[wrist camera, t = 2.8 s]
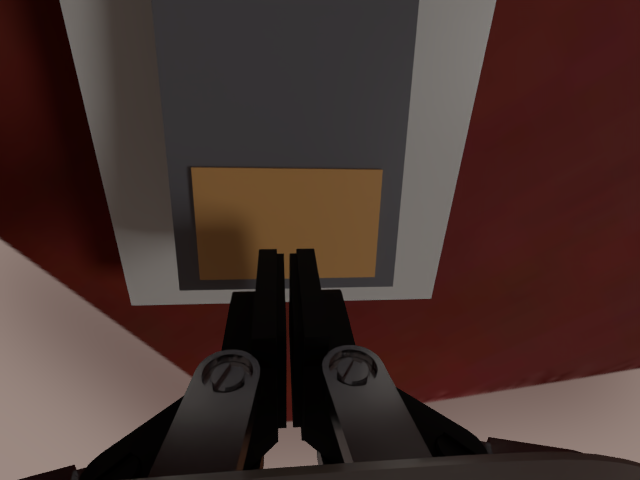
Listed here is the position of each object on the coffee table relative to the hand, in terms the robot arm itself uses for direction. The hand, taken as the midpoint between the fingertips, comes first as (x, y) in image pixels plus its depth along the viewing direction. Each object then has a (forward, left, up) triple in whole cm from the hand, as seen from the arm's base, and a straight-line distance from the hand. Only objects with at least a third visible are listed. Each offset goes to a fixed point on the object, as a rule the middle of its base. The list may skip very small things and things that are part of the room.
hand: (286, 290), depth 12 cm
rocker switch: (-5, 0, -4) cm, 7 cm away
